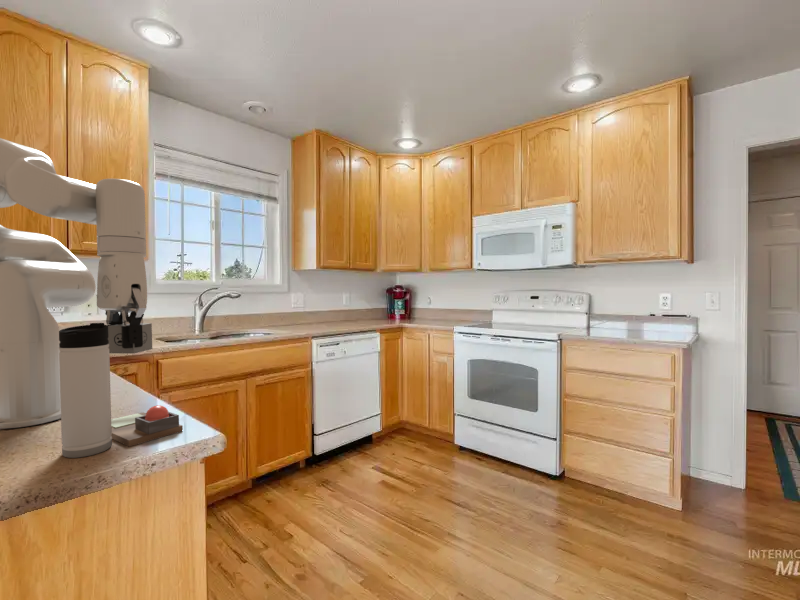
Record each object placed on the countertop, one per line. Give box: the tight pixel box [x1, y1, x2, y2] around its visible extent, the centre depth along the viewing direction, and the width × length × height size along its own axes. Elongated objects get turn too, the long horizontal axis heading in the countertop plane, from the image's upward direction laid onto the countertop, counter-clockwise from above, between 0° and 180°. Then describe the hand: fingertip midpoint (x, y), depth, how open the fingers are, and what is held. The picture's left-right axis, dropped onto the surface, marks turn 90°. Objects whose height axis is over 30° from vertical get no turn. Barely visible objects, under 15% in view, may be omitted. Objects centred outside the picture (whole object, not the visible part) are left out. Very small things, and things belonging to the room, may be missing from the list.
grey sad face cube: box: [108, 322, 153, 355], centre depth 76 cm, size 5×5×5 cm
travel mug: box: [59, 322, 113, 459], centre depth 64 cm, size 6×7×20 cm
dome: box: [145, 404, 170, 422], centre depth 72 cm, size 4×4×4 cm
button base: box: [111, 411, 184, 447], centre depth 74 cm, size 15×9×3 cm, turn 56°
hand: (125, 345), depth 76 cm, fingers closed on grey sad face cube, 5 cm apart
